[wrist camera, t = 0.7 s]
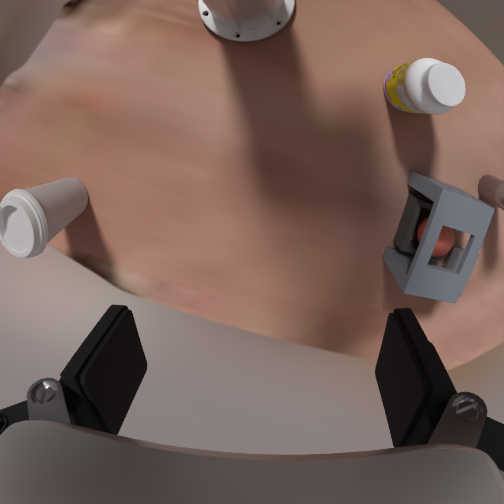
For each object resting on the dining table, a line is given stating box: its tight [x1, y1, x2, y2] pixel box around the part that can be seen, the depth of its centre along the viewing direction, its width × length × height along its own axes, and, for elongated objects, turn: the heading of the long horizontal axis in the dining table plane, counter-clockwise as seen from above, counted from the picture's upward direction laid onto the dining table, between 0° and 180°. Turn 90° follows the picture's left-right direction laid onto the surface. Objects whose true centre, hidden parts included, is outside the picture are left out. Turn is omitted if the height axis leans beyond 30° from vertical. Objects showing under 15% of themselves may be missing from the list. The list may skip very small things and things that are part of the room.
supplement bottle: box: [384, 58, 466, 114], centre depth 30 cm, size 7×7×13 cm
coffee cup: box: [0, 177, 88, 258], centre depth 39 cm, size 10×10×15 cm
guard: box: [383, 171, 495, 303], centre depth 39 cm, size 14×9×10 cm, turn 169°
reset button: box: [417, 217, 455, 257], centre depth 39 cm, size 5×5×3 cm
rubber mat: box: [443, 246, 479, 296], centre depth 45 cm, size 8×6×1 cm
